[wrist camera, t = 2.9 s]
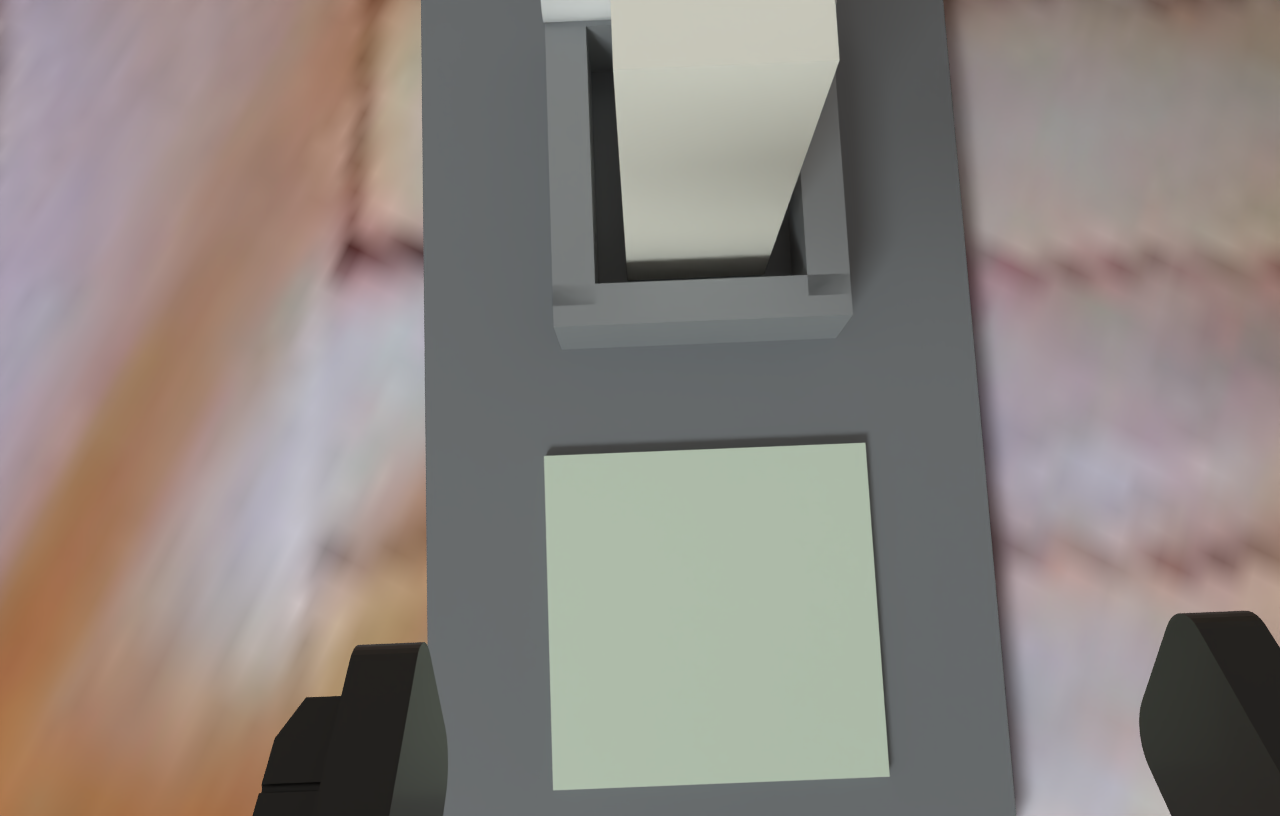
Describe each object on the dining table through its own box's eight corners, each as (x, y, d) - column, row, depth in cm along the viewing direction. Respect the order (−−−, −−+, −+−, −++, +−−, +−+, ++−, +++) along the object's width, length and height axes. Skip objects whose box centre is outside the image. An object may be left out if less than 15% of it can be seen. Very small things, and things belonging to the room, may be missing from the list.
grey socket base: (926, -48, 32) (974, -162, 27) (1004, 846, 28) (1077, 897, 24) (428, -27, 32) (390, -137, 27) (439, 869, 28) (396, 925, 24)
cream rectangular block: (752, 92, 30) (818, -230, 19) (763, 274, 30) (839, 60, 18) (620, 97, 30) (602, -221, 19) (627, 280, 30) (612, 70, 18)
